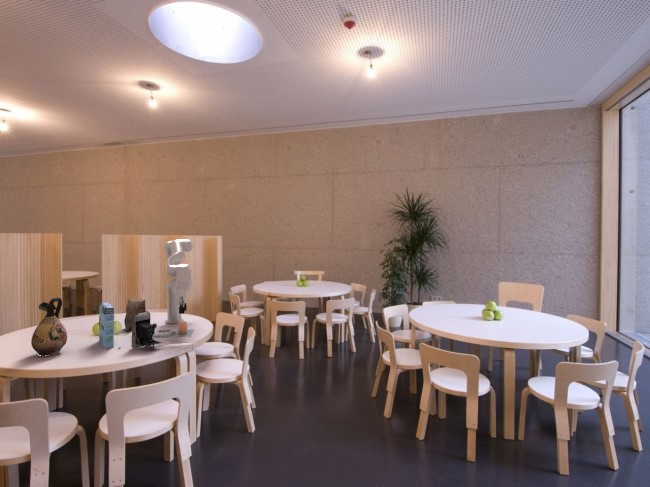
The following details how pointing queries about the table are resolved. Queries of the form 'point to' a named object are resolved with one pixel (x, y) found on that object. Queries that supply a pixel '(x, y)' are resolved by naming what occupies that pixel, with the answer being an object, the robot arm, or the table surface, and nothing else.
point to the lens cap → (182, 327)
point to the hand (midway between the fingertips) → (182, 312)
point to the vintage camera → (143, 330)
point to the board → (189, 334)
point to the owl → (133, 311)
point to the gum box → (106, 325)
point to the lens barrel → (164, 332)
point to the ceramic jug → (49, 330)
